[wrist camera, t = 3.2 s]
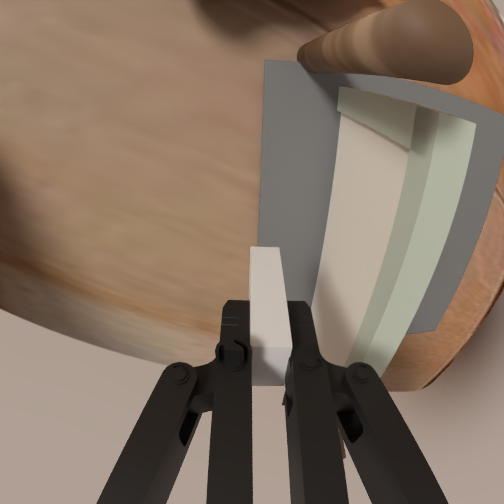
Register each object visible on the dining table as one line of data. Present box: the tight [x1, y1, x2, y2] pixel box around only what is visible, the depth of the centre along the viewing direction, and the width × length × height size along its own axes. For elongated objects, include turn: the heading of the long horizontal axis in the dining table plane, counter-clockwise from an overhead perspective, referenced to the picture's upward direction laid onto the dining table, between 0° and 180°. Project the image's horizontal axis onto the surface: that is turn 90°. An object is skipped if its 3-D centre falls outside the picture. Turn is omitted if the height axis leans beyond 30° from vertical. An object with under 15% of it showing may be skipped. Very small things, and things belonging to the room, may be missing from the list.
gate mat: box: [258, 60, 504, 334], centre depth 26 cm, size 24×28×1 cm
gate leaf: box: [311, 86, 476, 431], centre depth 19 cm, size 22×2×12 cm, turn 179°
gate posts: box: [297, 0, 473, 459], centre depth 18 cm, size 2×28×16 cm, turn 4°
